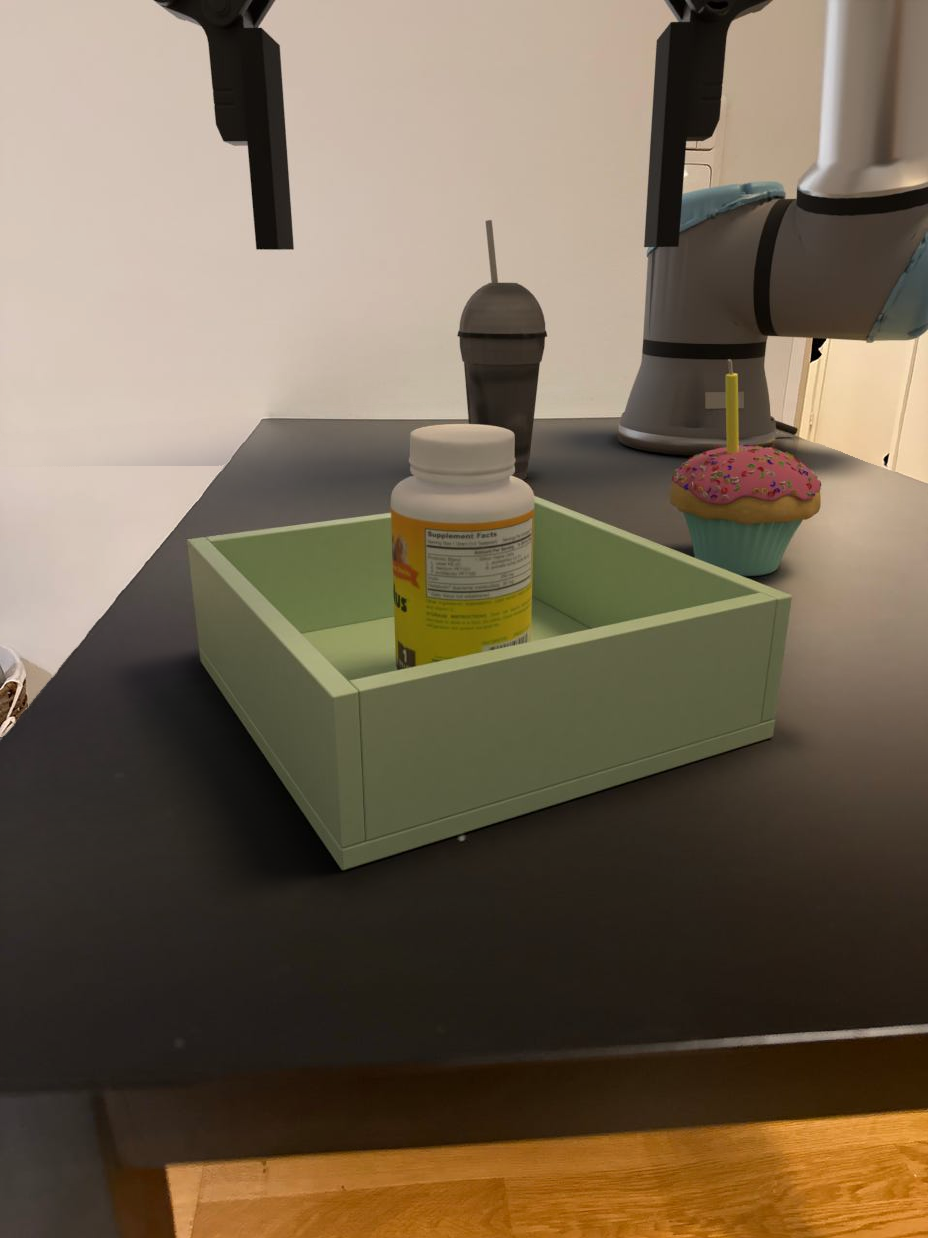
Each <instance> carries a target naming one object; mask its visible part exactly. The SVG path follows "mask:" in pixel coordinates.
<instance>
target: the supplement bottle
mask: <svg viewBox="0 0 928 1238" xmlns="http://www.w3.org/2000/svg"><path fill="white" fill-rule="evenodd" d="M514 450H515V435H514V433H513V432H512V431H510V430H508V429H505V428H501V427H497V426H490V425H479V424H469V423H449V424H445V423H444V424H434V425H428V426H427V425H426V426H422V427H419V428H416V429H413V430H412V431H411V432H410V434H409V458H408V462H409V464H410V466H409V471H410V473H411V476H408V477H406V478H404V479H402V480H401V481H399V482H398V483H397V484H396V485H395V486H394V488H393V489H392V492H391V495H390V513H391V527H392V563H393V595H394V624H395V652H396V668H397V670H401V669H406V668H411V667H415V666H420V665H425V664H429V663H434V662H439V661H443V660H448V659H453V658H457V657H462V656H467V655H471V654H476V653H481V652H485V651H490V650H495V649H499V648H504V647H509V646H513V645H518V644H523V643H527V642H531V608H532V571H533V533H534V496H535V494H534V491H533V489H532V487H531V486H530V485H529V484H528V483H527V482H525V481H524V479H523V480H521V479H519V478H516V477H514V476H512V475H513V474H514V472H515V466H514V463H515V457H514Z"/></svg>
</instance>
